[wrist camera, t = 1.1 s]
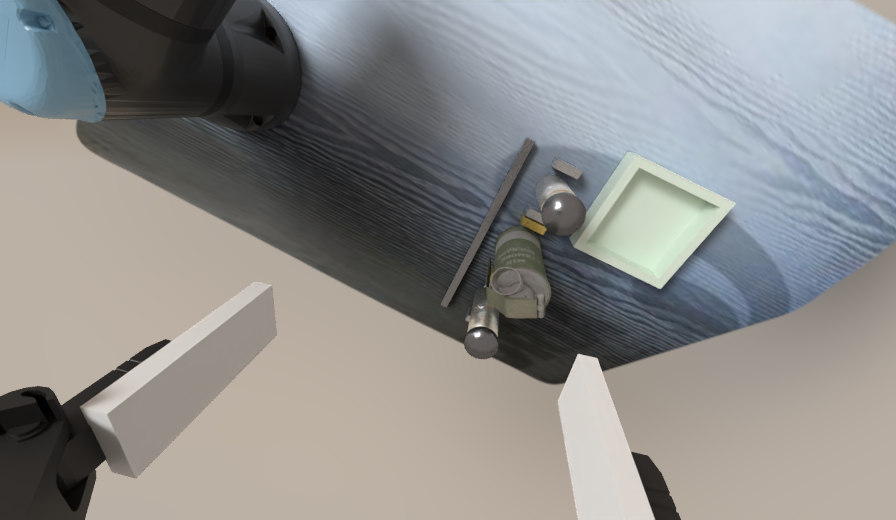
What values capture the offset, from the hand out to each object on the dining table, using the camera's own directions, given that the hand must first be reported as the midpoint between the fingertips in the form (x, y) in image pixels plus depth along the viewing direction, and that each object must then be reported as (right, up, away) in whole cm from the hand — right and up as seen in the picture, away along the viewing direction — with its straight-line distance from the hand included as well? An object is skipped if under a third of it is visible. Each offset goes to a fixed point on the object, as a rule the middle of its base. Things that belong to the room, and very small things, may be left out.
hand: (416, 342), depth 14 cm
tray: (+24, +9, +25) cm, 36 cm away
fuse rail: (+9, +6, +30) cm, 31 cm away
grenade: (+10, +5, +30) cm, 32 cm away
